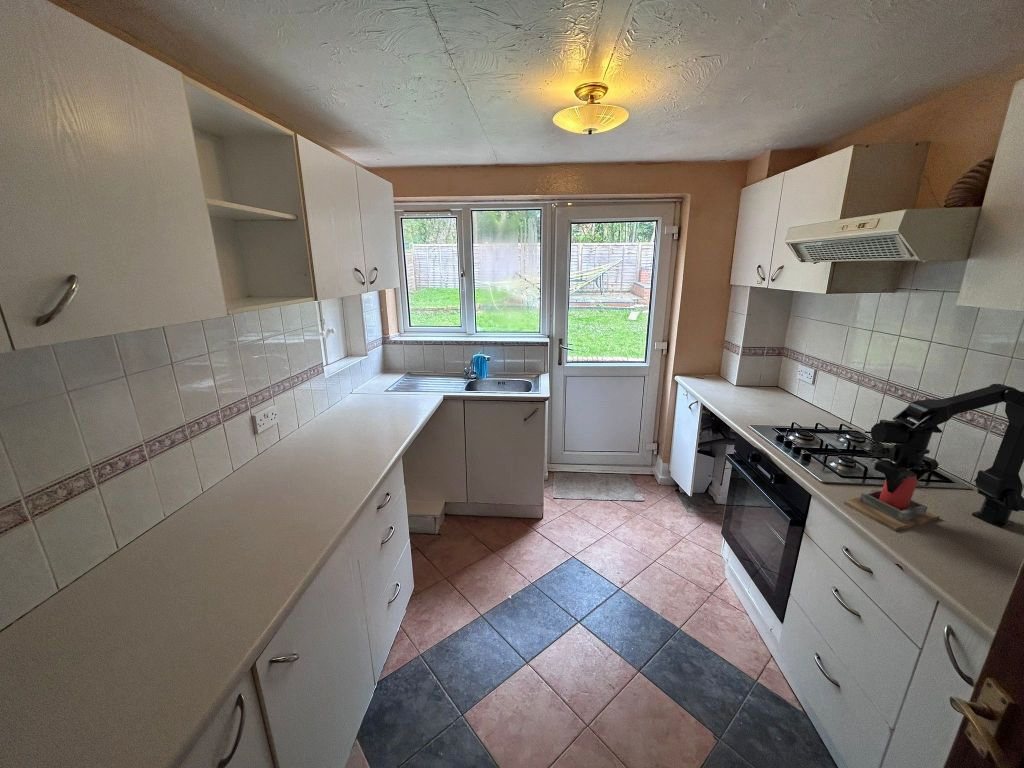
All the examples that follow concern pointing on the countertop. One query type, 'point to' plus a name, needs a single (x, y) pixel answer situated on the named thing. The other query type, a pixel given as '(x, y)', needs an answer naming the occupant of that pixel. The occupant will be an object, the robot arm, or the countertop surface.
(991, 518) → the robot arm
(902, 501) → the beer can
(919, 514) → the can holder
